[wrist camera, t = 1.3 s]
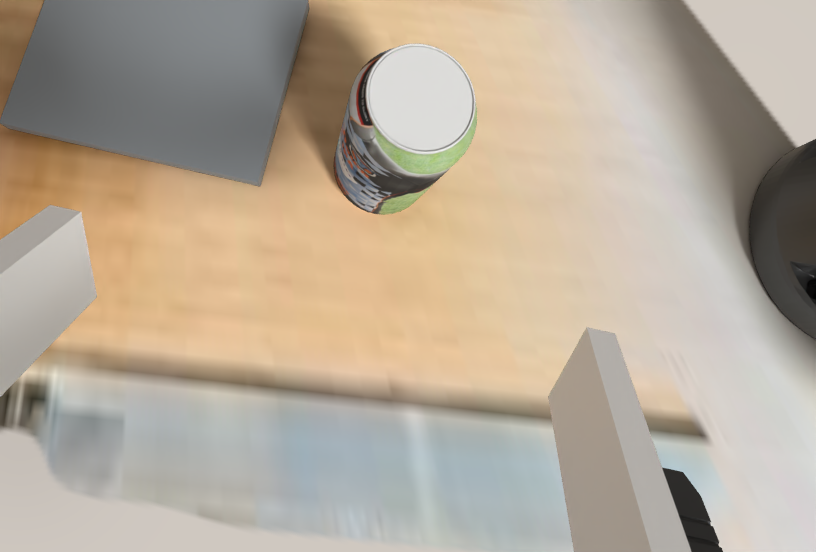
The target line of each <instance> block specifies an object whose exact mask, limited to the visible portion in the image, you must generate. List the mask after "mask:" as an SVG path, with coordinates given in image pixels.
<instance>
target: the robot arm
mask: <svg viewBox="0 0 816 552" xmlns="http://www.w3.org/2000/svg"><path fill="white" fill-rule="evenodd" d="M750 242H751V249H752V254H753V258H754V262H755V265H756V268H757V271H758V274H759V276H760V278H761V280H762V283H763V285H764V286H765V288H766V290H767V292H768V293H769V295H770V297H771V298H772V300H773V301H774V302H775V304H776V305H777V306H778V308H779V309H780V310H781V311H782V312H783V313H784V314H785V316H786V317H787V318H788V319H789V320H790V321H792V322H793V323H794V324H795V325H796V326H797V327H798V328H800V329H801V330H802V331H804V332H805V333H807V334H808V335H810V336H811V337H813V338H814V339H816V139H815V140H813V141H811V142H808V143H806V144H804V145H802V146H800V147H798V148H796V149H794V150H792V151H791V152H789V153H788V154H786V155H785V156H783V157H782V158H781V159H780V160H779V161H778V162H777V163H776V164H775V165H774V166H773V167H772V168H771V169H770V170H769V172H768V173H767V174H766V176H765V177H764V179H763V181H762V182H761V184H760V186H759V188H758V191H757V193H756V196H755V199H754V202H753V206H752V210H751V217H750ZM96 297H97V294H96V288H95V283H94V278H93V272H92V267H91V262H90V257H89V251H88V246H87V241H86V235H85V230H84V225H83V219H82V214H81V212H79V211H75V210H70V209H66V208H62V207H57V206H53V205H49V206H48V207H46V208H45V209H44V210H42V211H41V212H39V213H38V214H36V215H35V216H34V217H32V218H31V219H29V220H28V221H26V222H25V223H24V224H22V225H21V226H19V227H18V228H16V229H15V230H14V231H12V232H11V233H9V234H8V235H6V236H5V237H3V238H2V239H1V240H0V397H1V396H2V395H3V394H4V392H5V391H6V390H7V389H8V388H9V387H10V386H11V385H12V384H13V383H14V382H15V381H16V380H17V379H18V378H19V377H20V376H21V375H22V374H23V373H24V372H25V371H26V370H27V369H28V368H29V367H30V366H31V365H32V363H33V362H34V361H35V360H36V359H37V358H38V357H39V356H40V355H41V354H42V353H43V352H44V351H45V350H46V349H47V348H48V347H49V346H50V345H51V344H52V343H53V342H54V341H55V340H56V339H57V338H58V337H59V336H60V335H61V333H62V332H63V331H64V330H65V329H66V328H67V327H68V326H69V325H70V324H71V323H72V322H73V321H74V320H75V319H76V318H77V317H78V316H79V315H80V314H81V313H82V312H83V311H84V310H85V309H86V308H87V307H88V306H89V305H90V303H91V302H92V301H93V300H94V299H95V298H96ZM548 398H549V404H550V410H551V416H552V422H553V428H554V434H555V440H556V446H557V452H558V458H559V464H560V470H561V476H562V482H563V488H564V494H565V500H566V506H567V512H568V518H569V524H570V530H571V536H572V542H573V548H574V552H723V551H722V548H721V547H719V545H718V544H719V541H718V538H717V536H716V533H715V531H714V528H713V526H711V525H710V522H711V521H710V518H709V516H708V513H707V511H706V508H705V506H704V503H703V501H702V498H701V496H700V494H699V493H698V492H697V490H696V489H695V488H694V486H693V485H692V484H691V482H690V481H689V480H688V478H687V477H686V476H685V474H684V473H683V472H680V471H675V470H670V469H666V468H662V466H661V463H660V460H659V458H658V455H657V452H656V449H655V446H654V443H653V441H652V438H651V435H650V432H649V429H648V426H647V423H646V421H645V418H644V415H643V412H642V409H641V406H640V403H639V401H638V398H637V395H636V392H635V389H634V386H633V383H632V381H631V378H630V375H629V372H628V369H627V366H626V364H625V361H624V358H623V355H622V352H621V349H620V346H619V344H618V341H617V338H616V335H615V334H614V333H610V332H606V331H601V330H597V329H593V328H588V327H587V328H586V330H585V331H584V333H583V335H582V337H581V339H580V340H579V342H578V344H577V346H576V348H575V349H574V351H573V353H572V355H571V356H570V358H569V360H568V362H567V364H566V365H565V367H564V369H563V371H562V373H561V374H560V376H559V378H558V380H557V382H556V383H555V385H554V387H553V389H552V390H551V392H550V394H549V396H548Z"/></svg>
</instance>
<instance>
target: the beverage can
mask: <svg viewBox="0 0 816 552" xmlns="http://www.w3.org/2000/svg"><path fill="white" fill-rule="evenodd" d="M476 123H477V108H476V102H475V94H474V89H473V86H472V83H471V80H470V78H469V77H468V75H467V73H466V71H465V70H464V69H463V67H462V66H461V65H460V64H459V63H458V62H457V61H456V60H455V59H454V58H453V57H452V56H450V55H449V54H448V53H446V52H444V51H442V50H440V49H438V48H436V47H433V46H430V45H425V44H407V45H402V46H399V47H396V48H393V49H389V50H387V51H385V52H382V53H380V54H379V55H377V56H376V57H374V58H373V59H371V60H370V61H369V62H368V63H367V64H366V65H365V66H364V67H363V68H362V69H361V71H360V72H359V74H358V75H357V77H356V79H355V81H354V84H353V86H352V89H351V92H350V96H349V100H348V104H347V108H346V112H345V116H344V120H343V124H342V128H341V132H340V136H339V140H338V144H337V148H336V152H335V157H334V173H335V178H336V181H337V184H338V186H339V188H340V189H341V191H342V193H343V194H344V195H345V196H346V198H347V199H348V200H349V201H350V202H352V203H353V204H354V205H355V206H357V207H359V208H360V209H362V210H365V211H367V212H370V213H374V214H393V213H396V212H400V211H402V210H404V209H406V208H408V207H409V206H410V205H412V204H413V203H414V202H415V201H416V200H417V199H418V198H419V197H420V196H421V195H422V194H424V193H425V192H426V191H427V190H428V189H429V188H430V187H431V186H432V185H433V184H434V183H435V182H436V181H437V180H438V179H439V178H440V177H441V176H442V175H443V174H444V173H445V172H447V171H448V170H449V169H450V168H451V167H452V166H453V165H454V164H455V163H456V162H457V161H458V160H459V159H460V158H461V157H462V156H463V154H464V153H465V152H466V150H467V149H468V147H469V145H470V144H471V141H472V139H473V136H474V133H475V129H476Z"/></svg>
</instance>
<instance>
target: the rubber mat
mask: <svg viewBox="0 0 816 552" xmlns="http://www.w3.org/2000/svg"><path fill="white" fill-rule="evenodd" d="M308 11H309V3H308V0H45V1H44V3H43V6H42V9H41V11H40V14H39V17H38V20H37V22H36V25H35V28H34V30H33V33H32V36H31V38H30V41H29V44H28V46H27V49H26V52H25V55H24V57H23V60H22V63H21V65H20V68H19V71H18V73H17V76H16V79H15V81H14V84H13V87H12V89H11V92H10V95H9V98H8V100H7V103H6V106H5V108H4V111H3V114H2V116H1V119H0V124H2V125H3V126H5V127H7V128H8V129H13V130H17V131H22V132H26V133H30V134H35V135H39V136H43V137H48V138H52V139H56V140H61V141H65V142H69V143H74V144H78V145H82V146H87V147H91V148H95V149H100V150H104V151H108V152H113V153H117V154H121V155H126V156H130V157H134V158H139V159H143V160H148V161H152V162H156V163H161V164H165V165H169V166H174V167H178V168H182V169H187V170H191V171H195V172H200V173H204V174H208V175H213V176H217V177H221V178H226V179H230V180H234V181H239V182H243V183H247V184H252V185H256V186H261V182H262V179H263V175H264V171H265V168H266V164H267V160H268V157H269V153H270V149H271V146H272V142H273V138H274V135H275V131H276V128H277V124H278V120H279V117H280V113H281V109H282V106H283V102H284V98H285V95H286V91H287V88H288V84H289V80H290V77H291V73H292V69H293V66H294V62H295V58H296V55H297V51H298V47H299V44H300V40H301V37H302V33H303V29H304V26H305V22H306V18H307V15H308Z"/></svg>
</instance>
